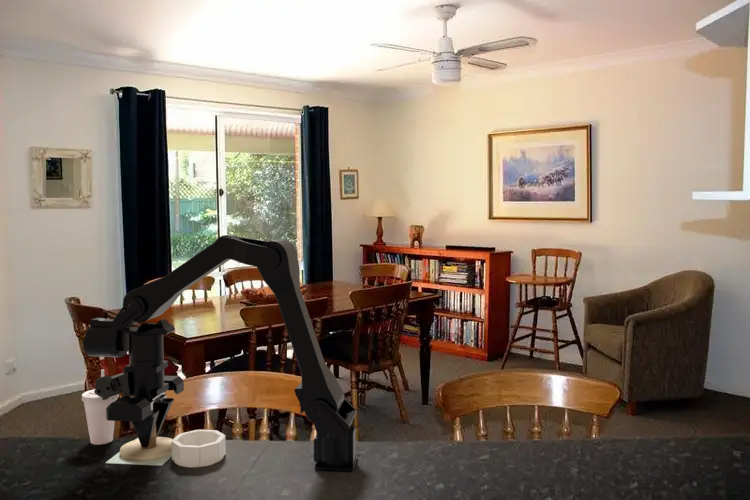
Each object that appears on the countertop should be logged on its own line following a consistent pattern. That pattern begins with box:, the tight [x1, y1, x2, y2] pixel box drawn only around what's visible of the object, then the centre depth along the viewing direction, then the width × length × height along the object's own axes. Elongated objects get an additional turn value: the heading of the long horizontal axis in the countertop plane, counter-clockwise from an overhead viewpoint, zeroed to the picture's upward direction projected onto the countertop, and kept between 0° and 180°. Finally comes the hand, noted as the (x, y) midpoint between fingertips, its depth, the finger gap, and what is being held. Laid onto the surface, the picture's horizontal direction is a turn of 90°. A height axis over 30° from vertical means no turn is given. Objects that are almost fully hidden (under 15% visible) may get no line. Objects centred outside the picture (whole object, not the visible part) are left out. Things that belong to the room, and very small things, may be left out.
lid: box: [119, 424, 174, 461], centre depth 117 cm, size 10×10×5 cm
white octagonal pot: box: [171, 429, 227, 468], centre depth 114 cm, size 8×8×4 cm
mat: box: [105, 437, 172, 467], centre depth 117 cm, size 10×12×1 cm
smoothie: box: [81, 369, 120, 446], centre depth 121 cm, size 6×6×14 cm
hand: (148, 444), depth 117 cm, fingers closed on lid, 3 cm apart
